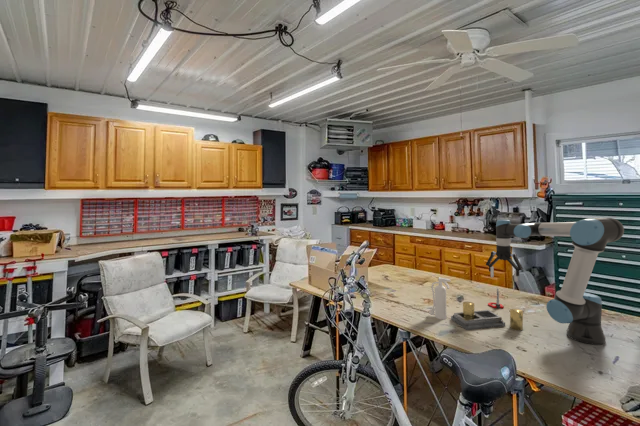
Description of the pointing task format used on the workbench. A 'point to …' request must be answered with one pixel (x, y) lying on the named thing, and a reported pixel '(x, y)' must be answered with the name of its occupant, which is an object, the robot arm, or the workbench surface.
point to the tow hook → (496, 303)
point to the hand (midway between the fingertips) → (503, 279)
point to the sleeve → (516, 319)
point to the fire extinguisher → (439, 299)
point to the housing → (476, 318)
